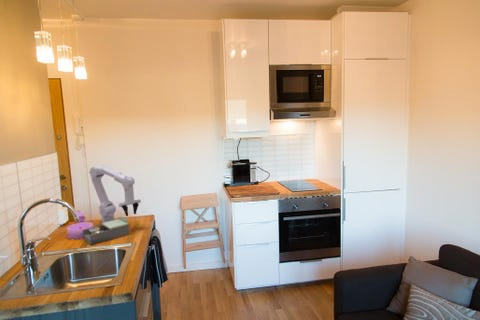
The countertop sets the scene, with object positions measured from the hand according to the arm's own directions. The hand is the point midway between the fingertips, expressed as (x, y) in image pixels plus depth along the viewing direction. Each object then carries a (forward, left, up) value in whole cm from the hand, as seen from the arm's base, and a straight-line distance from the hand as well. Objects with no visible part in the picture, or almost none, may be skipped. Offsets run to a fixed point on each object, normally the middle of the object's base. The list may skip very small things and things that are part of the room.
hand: (130, 214), depth 208 cm
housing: (0, -17, -10) cm, 20 cm away
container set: (-21, -26, -11) cm, 36 cm away
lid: (0, -11, -4) cm, 12 cm away
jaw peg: (+3, -23, -10) cm, 25 cm away
